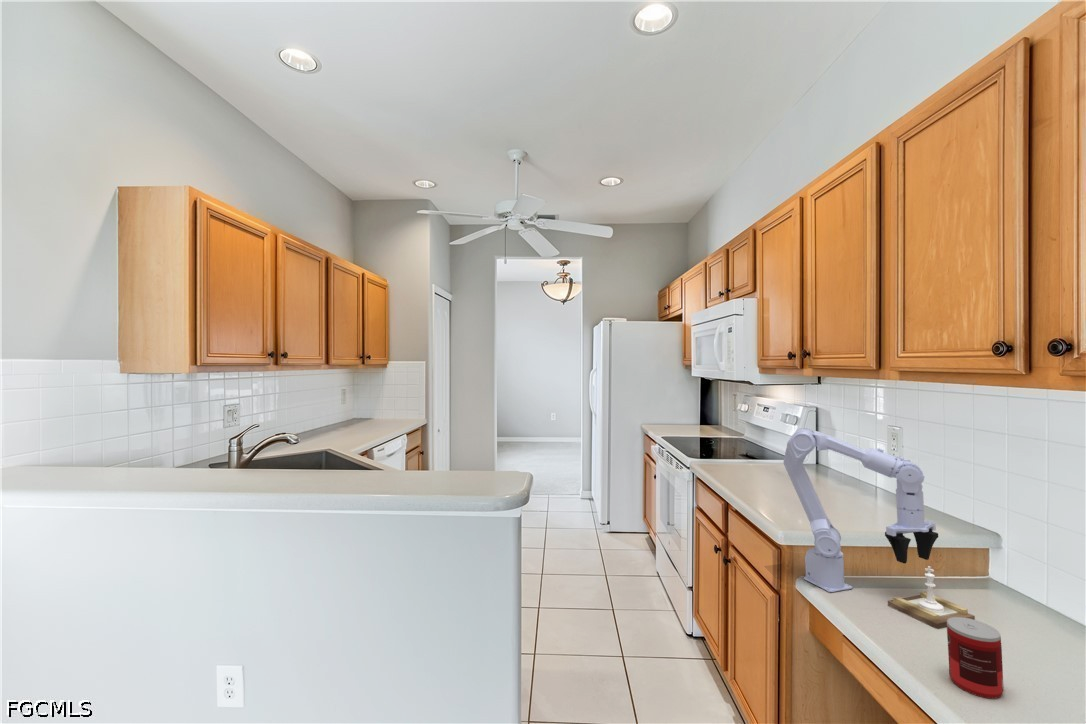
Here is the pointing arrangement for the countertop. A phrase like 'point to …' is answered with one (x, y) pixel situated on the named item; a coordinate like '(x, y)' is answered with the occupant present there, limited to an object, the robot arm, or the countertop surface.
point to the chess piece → (930, 594)
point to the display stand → (931, 618)
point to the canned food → (975, 657)
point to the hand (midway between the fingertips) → (912, 560)
